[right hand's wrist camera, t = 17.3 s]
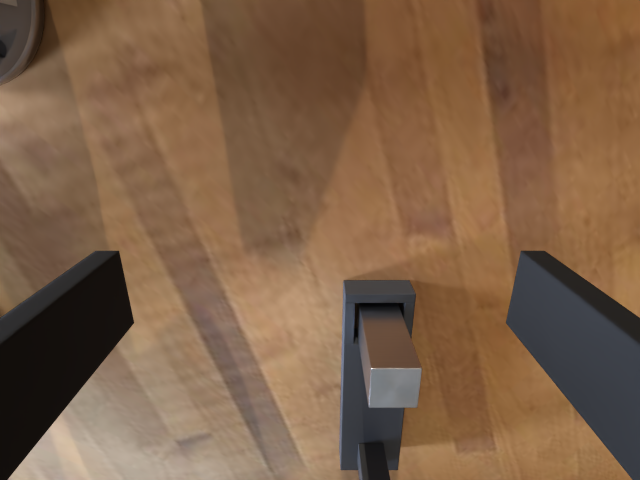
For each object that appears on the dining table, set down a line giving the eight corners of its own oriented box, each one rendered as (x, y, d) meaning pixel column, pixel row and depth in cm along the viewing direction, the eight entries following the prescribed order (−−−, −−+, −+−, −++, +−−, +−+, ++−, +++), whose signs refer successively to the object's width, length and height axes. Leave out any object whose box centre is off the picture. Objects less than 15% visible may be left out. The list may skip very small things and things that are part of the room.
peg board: (393, 448, 49) (412, 542, 39) (339, 448, 49) (344, 542, 39) (409, 280, 40) (440, 344, 30) (343, 280, 40) (351, 344, 30)
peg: (355, 324, 42) (368, 407, 31) (357, 292, 41) (371, 368, 30) (391, 324, 42) (417, 407, 31) (394, 292, 41) (422, 368, 30)
